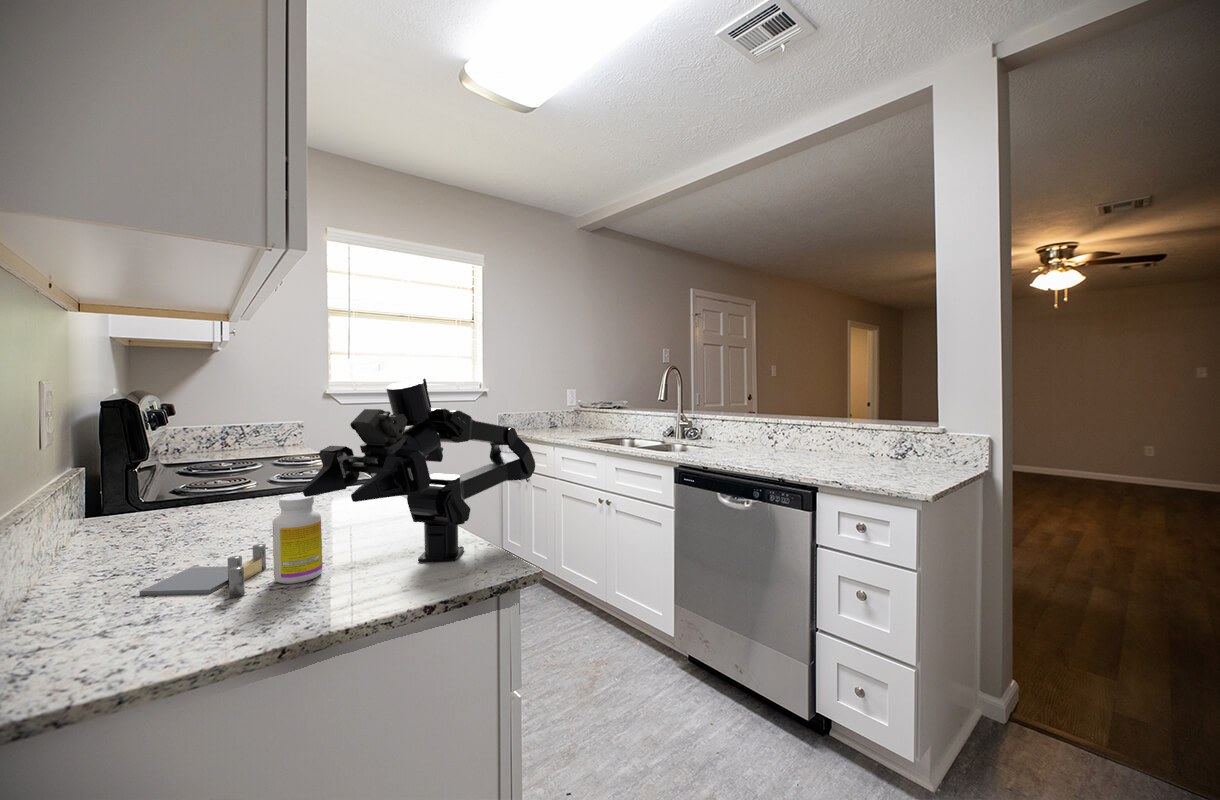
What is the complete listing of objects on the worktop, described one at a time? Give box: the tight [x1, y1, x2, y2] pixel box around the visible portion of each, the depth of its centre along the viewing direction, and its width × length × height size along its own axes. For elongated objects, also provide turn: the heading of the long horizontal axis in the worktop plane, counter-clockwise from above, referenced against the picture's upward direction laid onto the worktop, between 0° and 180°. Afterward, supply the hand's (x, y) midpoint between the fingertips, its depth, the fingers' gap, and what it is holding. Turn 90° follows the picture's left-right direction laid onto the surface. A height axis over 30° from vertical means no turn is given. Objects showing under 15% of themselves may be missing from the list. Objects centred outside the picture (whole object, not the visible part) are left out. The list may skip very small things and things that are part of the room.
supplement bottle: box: [272, 493, 323, 585], centre depth 83 cm, size 7×7×13 cm
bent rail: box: [227, 543, 267, 599], centre depth 81 cm, size 13×5×4 cm, turn 2°
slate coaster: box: [138, 565, 228, 596], centre depth 82 cm, size 10×10×1 cm
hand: (327, 496), depth 72 cm, fingers open, 9 cm apart
